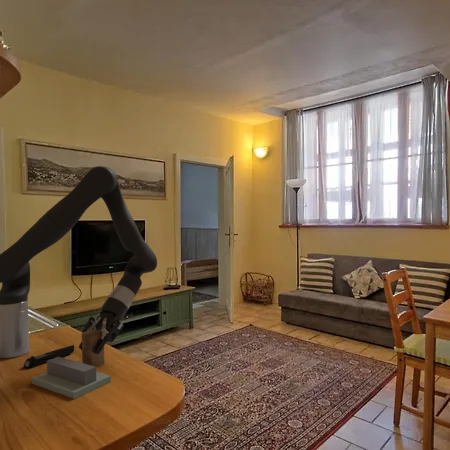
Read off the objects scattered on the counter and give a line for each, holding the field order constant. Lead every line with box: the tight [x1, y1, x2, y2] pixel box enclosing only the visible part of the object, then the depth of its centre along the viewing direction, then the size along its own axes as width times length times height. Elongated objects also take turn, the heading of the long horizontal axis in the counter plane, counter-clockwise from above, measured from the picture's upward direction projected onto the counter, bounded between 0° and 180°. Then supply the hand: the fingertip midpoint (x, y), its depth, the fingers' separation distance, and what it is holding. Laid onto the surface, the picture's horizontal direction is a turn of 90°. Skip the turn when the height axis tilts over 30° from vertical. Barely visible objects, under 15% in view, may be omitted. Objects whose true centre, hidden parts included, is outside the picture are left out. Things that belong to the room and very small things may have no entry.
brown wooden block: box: [81, 328, 105, 368], centre depth 108 cm, size 4×4×10 cm
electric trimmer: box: [23, 344, 75, 370], centre depth 114 cm, size 4×16×3 cm, turn 144°
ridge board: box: [31, 357, 112, 400], centre depth 96 cm, size 18×11×5 cm, turn 58°
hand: (88, 351), depth 107 cm, fingers open, 5 cm apart
